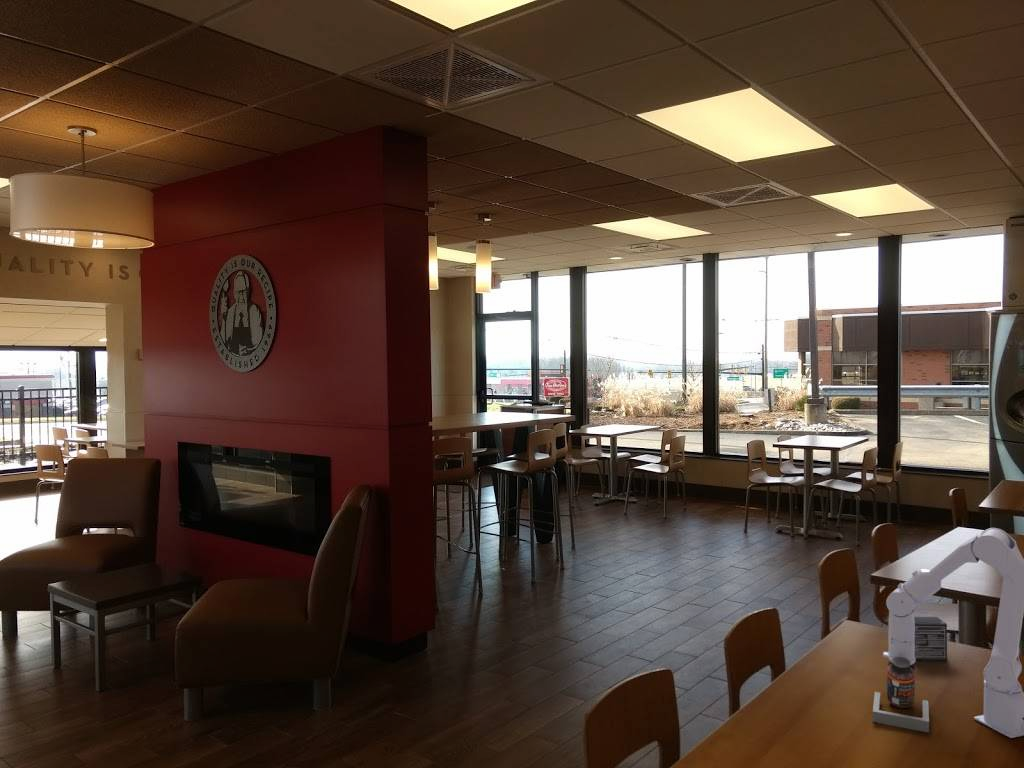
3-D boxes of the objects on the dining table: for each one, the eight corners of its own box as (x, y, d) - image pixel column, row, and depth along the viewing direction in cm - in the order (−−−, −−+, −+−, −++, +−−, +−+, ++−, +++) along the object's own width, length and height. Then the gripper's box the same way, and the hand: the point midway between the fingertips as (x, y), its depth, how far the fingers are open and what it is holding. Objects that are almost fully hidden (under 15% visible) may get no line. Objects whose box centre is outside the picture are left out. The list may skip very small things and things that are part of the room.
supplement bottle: (899, 712, 181) (899, 673, 178) (881, 696, 187) (880, 658, 183) (920, 704, 183) (920, 665, 179) (901, 689, 188) (901, 650, 185)
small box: (937, 652, 215) (937, 615, 215) (948, 662, 209) (948, 624, 208) (898, 651, 216) (898, 615, 216) (907, 661, 210) (907, 623, 209)
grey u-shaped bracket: (874, 701, 186) (874, 691, 186) (928, 711, 181) (928, 700, 181) (872, 721, 176) (872, 711, 176) (928, 732, 171) (929, 721, 171)
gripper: (884, 625, 195) (884, 678, 196) (882, 645, 182) (881, 701, 183) (915, 630, 192) (915, 683, 192) (915, 650, 179) (915, 707, 180)
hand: (901, 692), depth 188 cm, fingers closed
